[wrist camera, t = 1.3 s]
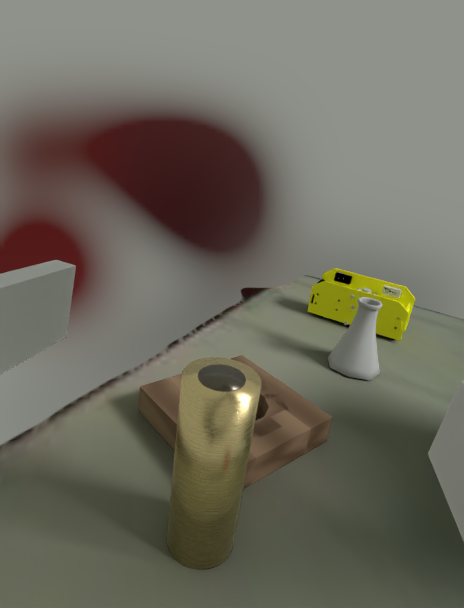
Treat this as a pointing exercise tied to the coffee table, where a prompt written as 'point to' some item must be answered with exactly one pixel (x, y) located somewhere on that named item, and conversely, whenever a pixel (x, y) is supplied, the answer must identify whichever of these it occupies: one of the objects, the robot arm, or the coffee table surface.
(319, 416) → the jig plate
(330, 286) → the yellow toy chassis
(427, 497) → the coffee table surface
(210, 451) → the cylinder
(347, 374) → the flask
